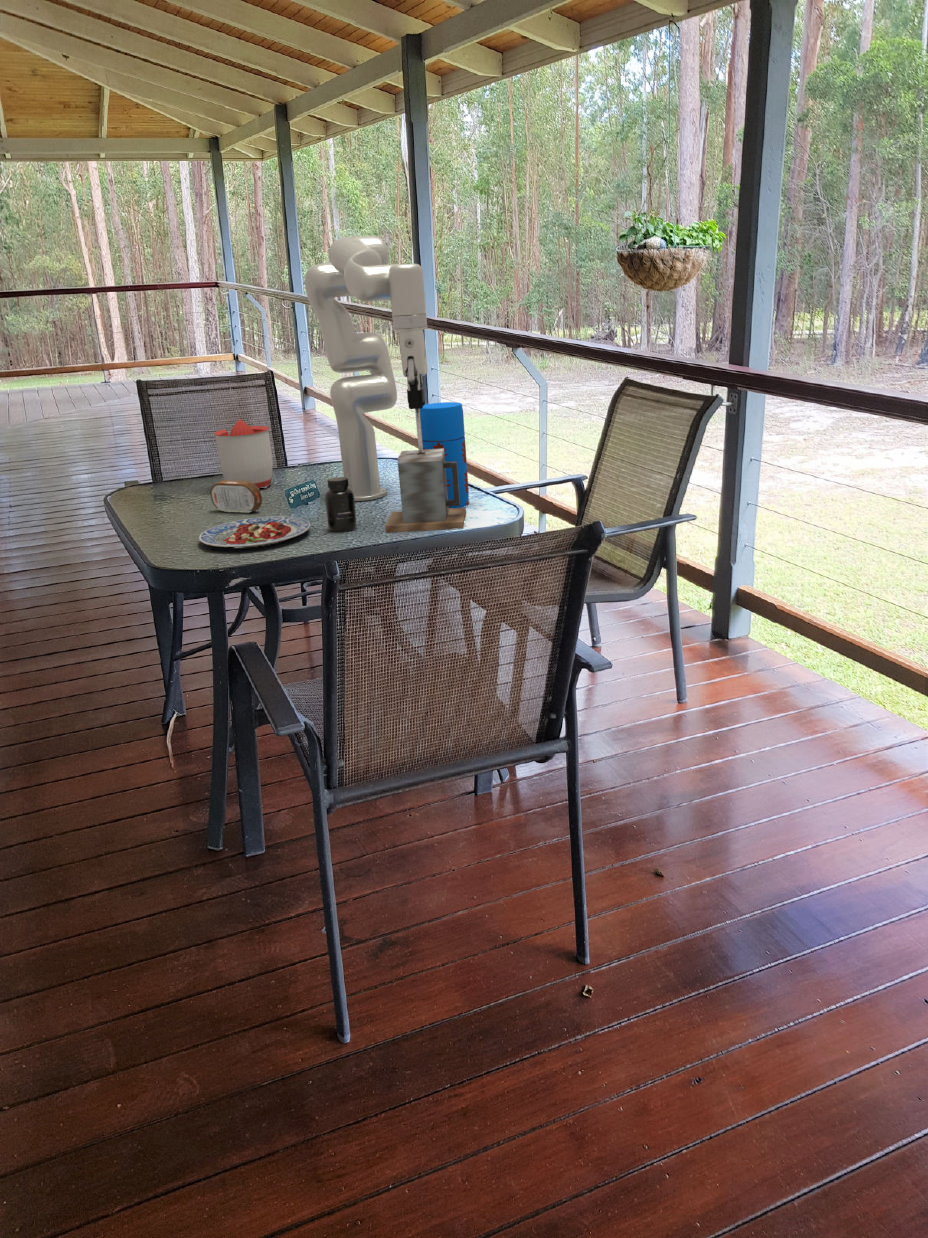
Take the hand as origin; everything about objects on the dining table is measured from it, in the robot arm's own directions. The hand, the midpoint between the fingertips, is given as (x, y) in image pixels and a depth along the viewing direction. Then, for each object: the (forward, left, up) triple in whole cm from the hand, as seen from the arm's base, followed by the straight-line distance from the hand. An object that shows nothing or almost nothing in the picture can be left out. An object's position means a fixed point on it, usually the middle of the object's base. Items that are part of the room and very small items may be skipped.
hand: (417, 406), depth 219 cm
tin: (-52, +23, -28) cm, 63 cm away
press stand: (0, 0, -27) cm, 27 cm away
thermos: (+4, +17, -27) cm, 33 cm away
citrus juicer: (-57, +54, -28) cm, 83 cm away
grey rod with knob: (0, 0, -17) cm, 17 cm away
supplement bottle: (-20, -1, -28) cm, 34 cm away
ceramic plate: (-40, -5, -28) cm, 49 cm away
